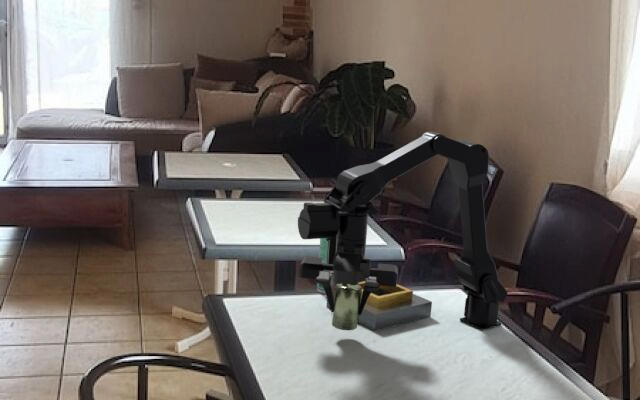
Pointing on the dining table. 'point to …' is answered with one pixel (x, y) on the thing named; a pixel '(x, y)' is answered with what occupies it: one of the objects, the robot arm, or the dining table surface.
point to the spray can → (327, 256)
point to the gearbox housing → (392, 307)
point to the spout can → (346, 306)
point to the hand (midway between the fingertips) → (346, 313)
